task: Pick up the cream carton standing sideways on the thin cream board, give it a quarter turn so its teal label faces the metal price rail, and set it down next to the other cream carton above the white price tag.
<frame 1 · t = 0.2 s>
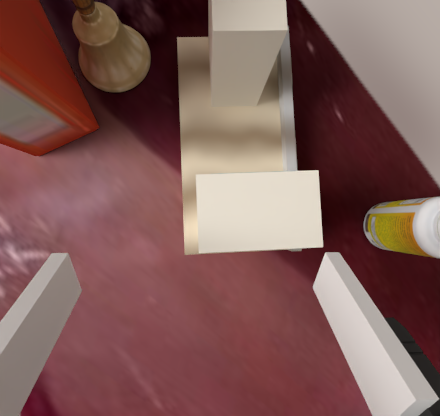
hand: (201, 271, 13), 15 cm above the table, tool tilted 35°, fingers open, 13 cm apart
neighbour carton: (232, 71, 28), point 2 cm above the table, touching thin cream board
carton: (239, 214, 27), point 2 cm above the table, touching thin cream board
file binder: (37, 77, 29), on the table
hand bell: (116, 60, 29), on the table
thin cream board: (233, 147, 29), on the table
supplement bottle: (382, 225, 30), on the table
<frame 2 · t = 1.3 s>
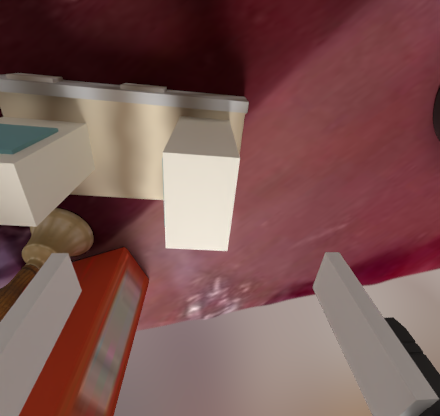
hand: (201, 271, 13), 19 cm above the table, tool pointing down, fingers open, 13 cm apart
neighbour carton: (52, 144, 26), point 2 cm above the table, touching thin cream board
carton: (203, 155, 27), point 2 cm above the table, touching thin cream board
file binder: (90, 277, 40), on the table
hand bell: (63, 231, 35), on the table
thin cream board: (134, 144, 29), on the table
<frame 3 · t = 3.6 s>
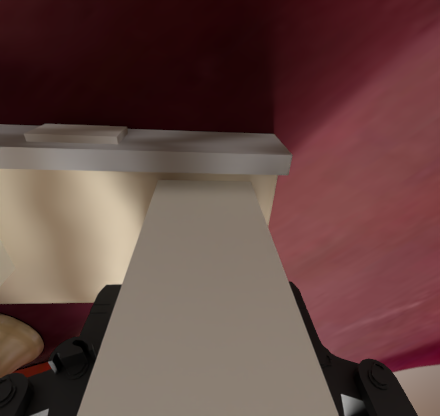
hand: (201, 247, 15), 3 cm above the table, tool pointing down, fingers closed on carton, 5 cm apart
carton: (203, 238, 16), point 2 cm above the table, touching gripper, thin cream board
thin cream board: (83, 219, 17), on the table
when the fingers open (4 cm above the table, at t = 9.4 s): carton drops 1 cm, resting on thin cream board.
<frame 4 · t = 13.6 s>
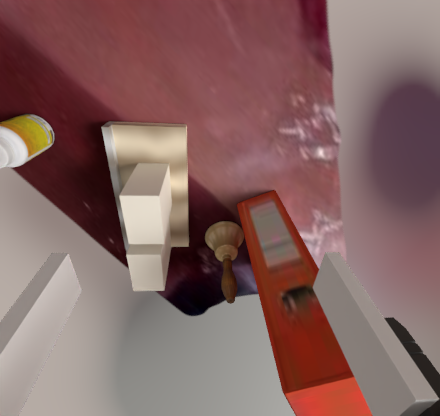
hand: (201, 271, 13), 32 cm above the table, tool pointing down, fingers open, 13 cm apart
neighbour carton: (157, 231, 48), point 2 cm above the table, touching thin cream board
carton: (156, 184, 43), point 2 cm above the table, touching thin cream board
file binder: (267, 228, 52), on the table
hand bell: (224, 236, 53), on the table
thin cream board: (155, 189, 46), on the table
supplement bottle: (37, 131, 39), on the table
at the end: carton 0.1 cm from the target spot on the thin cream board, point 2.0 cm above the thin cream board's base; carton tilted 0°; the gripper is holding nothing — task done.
